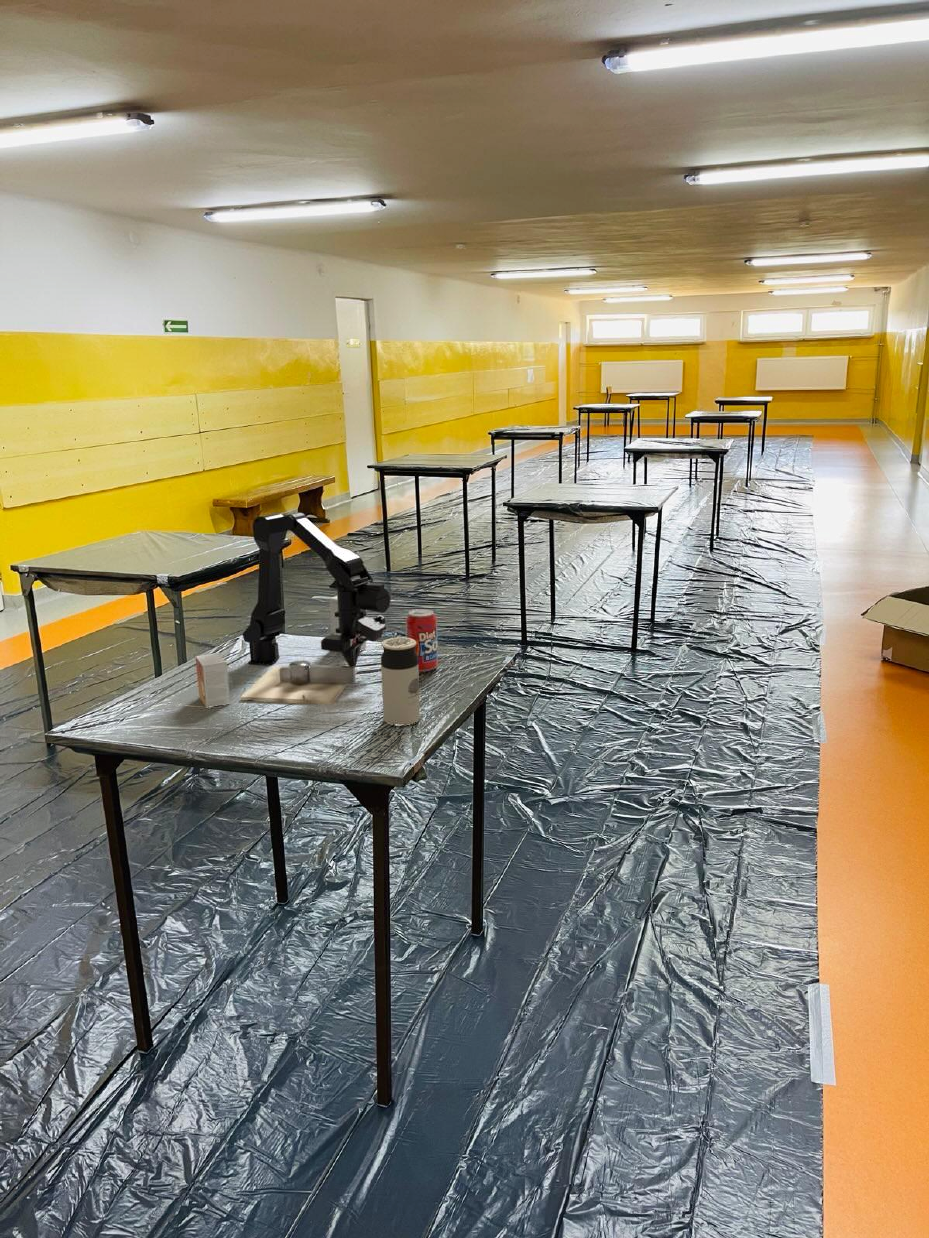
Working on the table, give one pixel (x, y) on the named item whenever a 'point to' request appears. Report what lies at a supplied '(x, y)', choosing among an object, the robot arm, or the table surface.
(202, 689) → the small box
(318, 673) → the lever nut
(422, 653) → the soda can
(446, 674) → the table surface
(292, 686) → the base plate
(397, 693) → the travel mug
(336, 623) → the skincare box
